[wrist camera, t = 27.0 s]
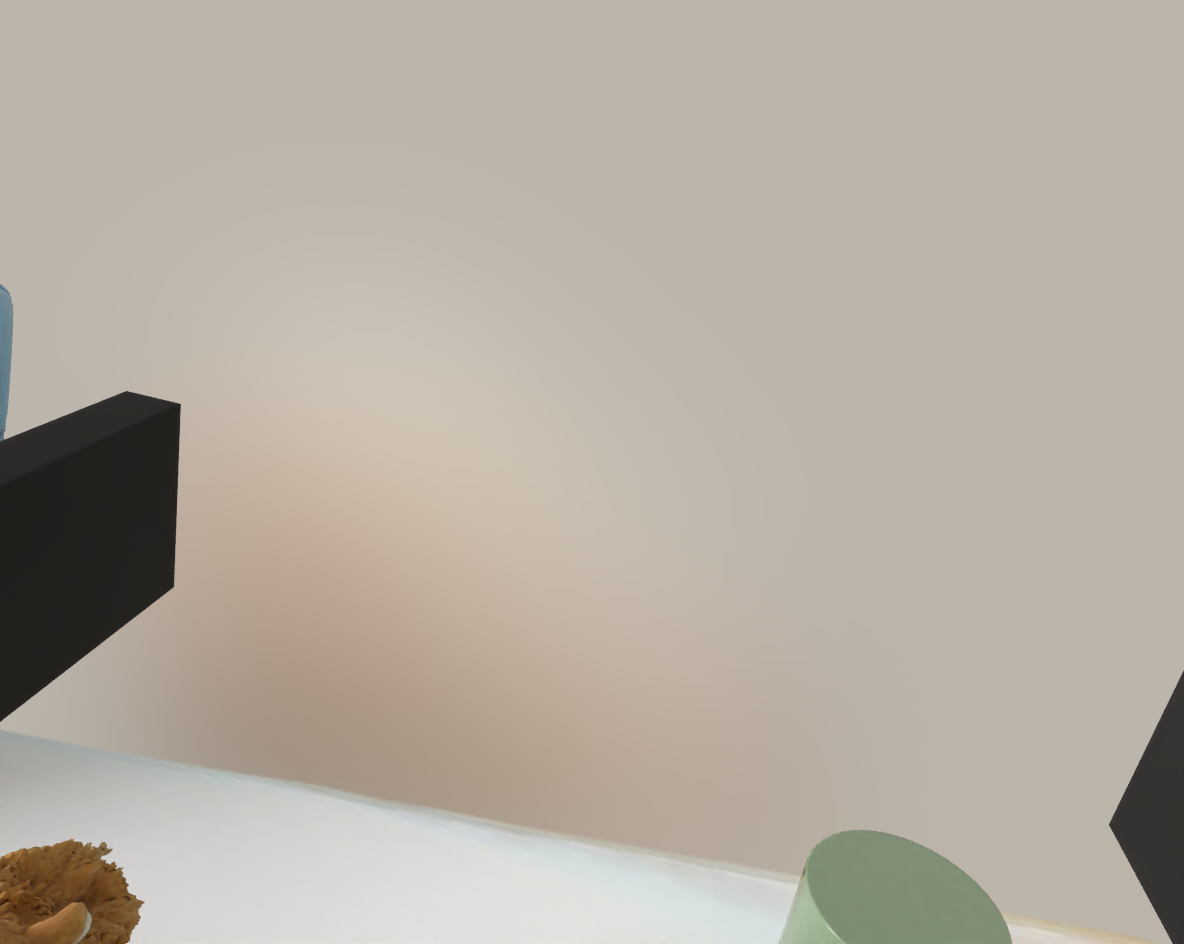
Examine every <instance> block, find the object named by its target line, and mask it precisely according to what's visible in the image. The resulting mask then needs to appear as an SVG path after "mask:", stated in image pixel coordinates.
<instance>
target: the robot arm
mask: <svg viewBox="0 0 1184 944" xmlns="http://www.w3.org/2000/svg"><path fill="white" fill-rule="evenodd" d="M12 330H13V305H12V302H11V296H10V293H9V292H8V291H7V289H6V288H5V287H4V286H2V285H0V721H2V720H3V719H4V718H6V717H7V716H8V715H9V714H11V713H12V712H13V711H15V710H16V709H17V708H18V707H20V706H21V705H22V704H24V703H25V702H26V701H27V700H29V699H30V698H31V697H33V696H34V695H35V694H36V693H38V692H39V691H40V690H42V689H43V688H44V687H46V686H47V685H48V684H49V683H51V682H52V681H53V680H55V679H56V678H57V677H58V676H60V675H61V674H62V673H64V672H65V671H66V670H67V669H68V668H70V667H71V666H73V665H74V664H75V663H76V662H78V661H79V660H80V659H82V658H83V657H84V656H85V655H87V654H88V653H89V652H91V651H92V650H93V649H94V648H96V647H97V646H98V645H100V644H101V643H102V642H104V641H105V640H106V639H107V638H108V637H110V636H111V635H113V634H114V633H115V632H116V631H118V630H119V629H120V628H121V627H123V626H124V625H125V624H127V623H128V622H129V621H130V620H132V619H133V618H134V617H136V616H137V615H138V614H139V613H141V612H142V611H143V610H145V609H146V608H147V607H149V606H150V605H151V604H152V603H154V602H155V601H156V600H158V599H159V598H160V597H161V596H163V595H164V594H165V593H167V592H168V591H169V590H170V589H172V588H173V587H174V570H175V568H174V567H175V543H176V515H177V489H178V462H179V435H180V408H181V404H178V403H174V402H170V401H166V400H162V399H157V398H153V397H149V396H144V395H141V394H137V393H132V392H128V391H126V392H123V393H121V394H118V395H116V396H113V397H111V398H108V399H106V400H103V401H100V402H98V403H96V404H93V405H90V406H88V407H85V408H83V409H80V410H78V411H75V412H73V413H71V414H68V415H65V416H63V417H60V418H58V419H55V420H53V421H50V422H48V423H45V424H43V425H40V426H38V427H36V428H33V429H30V430H28V431H25V432H23V433H20V434H18V435H15V436H13V437H10V438H8V439H5V440H4V437H3V436H4V432H5V426H6V417H7V409H8V398H9V384H10V370H11V354H12V332H13V331H12ZM1109 826H1110V828H1111V829H1112V831H1113V833H1114V835H1115V837H1116V838H1117V841H1118V842H1119V844H1120V846H1121V848H1122V850H1123V851H1124V853H1125V855H1126V857H1127V859H1128V861H1129V863H1130V865H1131V867H1132V868H1133V870H1134V872H1135V874H1136V876H1137V878H1138V880H1139V881H1140V883H1141V885H1142V887H1143V889H1144V891H1145V893H1146V894H1147V896H1148V898H1149V900H1150V902H1151V904H1152V906H1153V907H1154V909H1155V911H1156V913H1157V915H1158V917H1159V919H1160V920H1161V922H1162V924H1163V926H1164V928H1165V930H1166V932H1167V933H1168V935H1169V937H1170V939H1171V941H1172V943H1173V944H1184V671H1183V673H1182V675H1181V677H1180V679H1179V681H1178V684H1177V686H1176V688H1175V690H1174V692H1173V694H1172V696H1171V698H1170V700H1169V702H1168V704H1167V706H1166V708H1165V710H1164V713H1163V715H1162V716H1161V719H1160V721H1159V723H1158V725H1157V727H1156V729H1155V731H1154V733H1153V735H1152V737H1151V739H1150V741H1149V743H1148V745H1147V747H1146V749H1145V751H1144V754H1143V756H1142V758H1141V760H1140V762H1139V764H1138V766H1137V768H1136V770H1135V772H1134V774H1133V776H1132V778H1131V781H1130V782H1129V784H1128V787H1127V789H1126V791H1125V793H1124V795H1123V797H1122V799H1121V801H1120V803H1119V805H1118V807H1117V809H1116V811H1115V813H1114V815H1113V817H1112V820H1111V822H1110V824H1109Z"/></svg>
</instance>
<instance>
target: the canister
mask: <svg viewBox="0 0 1184 944" xmlns="http://www.w3.org/2000/svg"><path fill="white" fill-rule="evenodd" d="M779 944H1012V942H1011V937H1010V933H1009V930H1008V927H1007V925H1006V923H1005V921H1004V919H1003V917H1002V915H1001V913H1000V911H999V910H998V908H997V907H996V905H995V904H994V902H993V901H992V900H991V898H990V897H989V896H988V895H987V893H986V892H985V891H984V890H983V889H982V888H981V887H980V886H979V885H978V884H977V883H976V882H975V881H974V880H973V879H972V878H971V877H970V876H968V875H967V874H966V873H965V872H964V871H962V870H961V869H960V868H959V867H957V866H956V865H955V864H953V863H951V862H950V861H949V860H947V859H946V858H944V857H942V856H941V855H939V854H937V853H935V852H934V851H932V850H930V849H928V848H926V847H924V846H922V845H920V844H917V843H915V842H913V841H910V840H908V839H905V838H902V837H899V836H895V835H891V834H887V833H883V832H877V831H867V830H853V831H845V832H840V833H837V834H833V835H831V836H829V837H827V838H825V839H824V840H822V841H821V842H820V843H818V844H817V845H816V846H815V848H814V849H813V850H812V851H811V853H810V855H809V857H808V859H807V862H806V865H805V868H804V871H803V874H802V876H801V879H800V882H799V885H798V888H797V891H796V894H795V897H794V900H793V903H792V906H791V909H790V912H789V915H788V917H787V920H786V923H785V926H784V929H783V932H782V935H781V938H780V941H779Z"/></svg>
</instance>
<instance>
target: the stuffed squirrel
mask: <svg viewBox="0 0 1184 944" xmlns="http://www.w3.org/2000/svg"><path fill="white" fill-rule="evenodd" d="M91 844H92V843H87V845H85V847H83V844H82V842H74V841H73V839H71V840H68V841H64V842H62V843H59V844H58V843H57V844H55V845H53V846H52V847H51V846H50V845H49V846H50V847H49V846H43V847H41V848H39V847H33V848H30V849H25V848H24V849H20V850H18V851H16V852H11V853H9V854H7V855H6V856H2V857H1V858H0V944H126V943H128V942H129V940H130V935H131V932H132V930H133V929H134V928H135V926H136V925H138V922H139V919H140V918H141V917H140V915H138V912H139V911H138V909H139V908H140V907H141V905H142V904H143V903H144V902H143V901H141V900H137V898H136V896H135V895H132V894H130V893H129V892H128V890H127V886H128V884H127V883H126V882H125V881H126V879H125V877H122V875H123V872H122V871H121V869H122V868H123V867H122V868H118V869H115V868H116V867H117V866H116V865H115V862H112V863H111V864H108V863H107V864H106V860H101V859H100V858H101V856H103V855H106V854H108V853H109V852H111V851H112V849H107V848H106V847H107V844H106V843H105V842H102V843H101V844H100V847H98V848H95V847H94V846H93V847H91Z"/></svg>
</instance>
